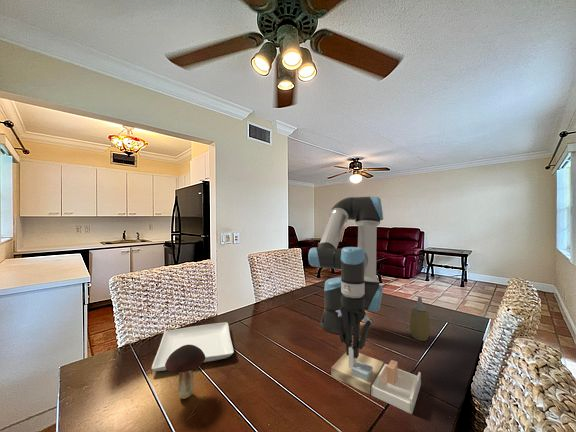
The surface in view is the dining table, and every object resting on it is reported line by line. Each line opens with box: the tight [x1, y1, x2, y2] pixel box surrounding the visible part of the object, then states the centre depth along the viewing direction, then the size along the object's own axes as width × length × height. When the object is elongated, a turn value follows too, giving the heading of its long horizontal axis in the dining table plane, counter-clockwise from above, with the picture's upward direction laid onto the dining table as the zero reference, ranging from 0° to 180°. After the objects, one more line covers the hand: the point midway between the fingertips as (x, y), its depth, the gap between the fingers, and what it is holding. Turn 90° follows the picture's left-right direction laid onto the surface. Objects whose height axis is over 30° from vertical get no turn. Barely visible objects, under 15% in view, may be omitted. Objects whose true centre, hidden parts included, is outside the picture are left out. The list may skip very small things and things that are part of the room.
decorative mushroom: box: [165, 345, 205, 400], centre depth 69 cm, size 11×11×15 cm
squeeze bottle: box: [409, 296, 431, 342], centre depth 103 cm, size 8×8×18 cm
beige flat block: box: [330, 351, 385, 395], centre depth 80 cm, size 13×14×3 cm
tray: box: [370, 363, 422, 415], centre depth 72 cm, size 11×14×4 cm
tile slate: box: [352, 361, 373, 381], centre depth 75 cm, size 5×5×2 cm
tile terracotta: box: [387, 359, 399, 385], centre depth 76 cm, size 5×5×2 cm
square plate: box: [151, 321, 235, 372], centre depth 95 cm, size 27×27×4 cm
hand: (352, 366), depth 77 cm, fingers closed
